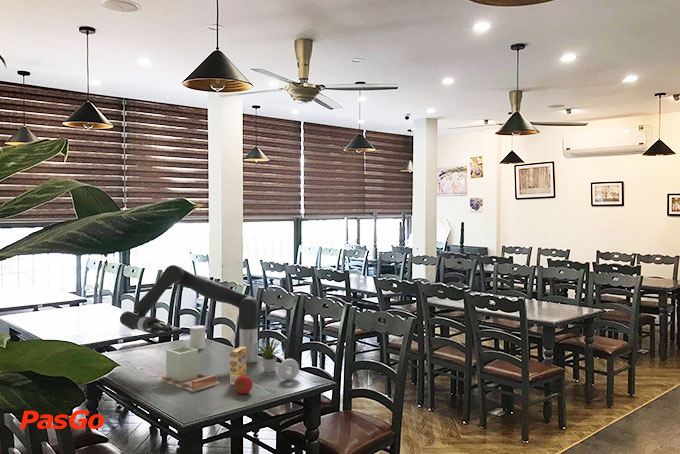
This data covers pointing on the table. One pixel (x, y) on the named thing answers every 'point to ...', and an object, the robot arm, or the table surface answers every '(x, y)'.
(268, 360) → the house plant
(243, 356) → the candy box
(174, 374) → the square container
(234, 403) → the table surface
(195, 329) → the cup
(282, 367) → the donut
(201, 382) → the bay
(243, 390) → the tomato
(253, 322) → the robot arm
